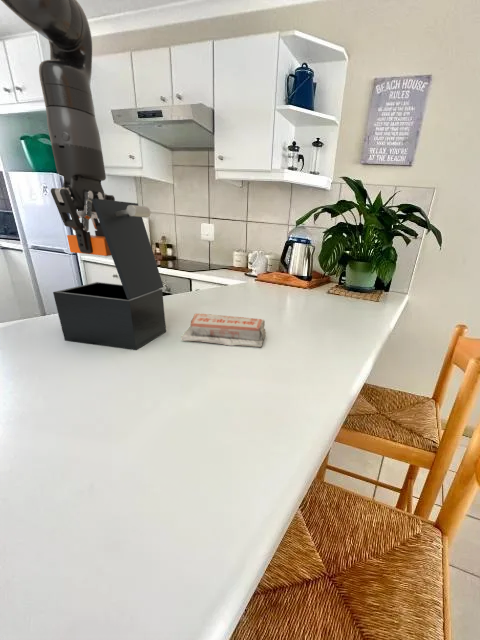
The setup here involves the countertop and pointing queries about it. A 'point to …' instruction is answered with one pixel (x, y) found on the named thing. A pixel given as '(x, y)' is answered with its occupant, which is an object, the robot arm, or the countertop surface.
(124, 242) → the bin lid
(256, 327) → the packaged product
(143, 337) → the bin
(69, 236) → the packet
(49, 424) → the countertop surface
